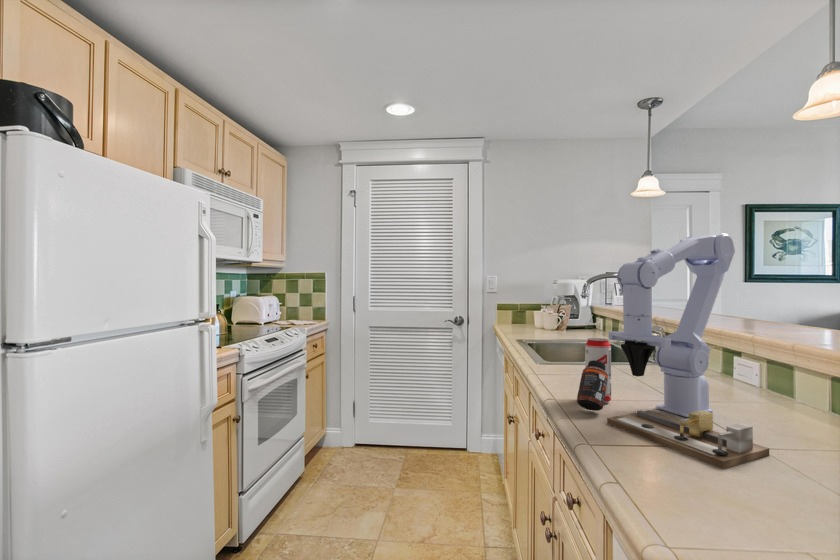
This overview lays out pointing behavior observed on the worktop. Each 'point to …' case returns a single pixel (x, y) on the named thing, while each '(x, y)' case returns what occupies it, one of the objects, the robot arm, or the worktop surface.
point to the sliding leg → (698, 423)
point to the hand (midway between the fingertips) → (638, 375)
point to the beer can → (600, 358)
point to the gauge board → (694, 438)
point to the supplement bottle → (593, 386)
